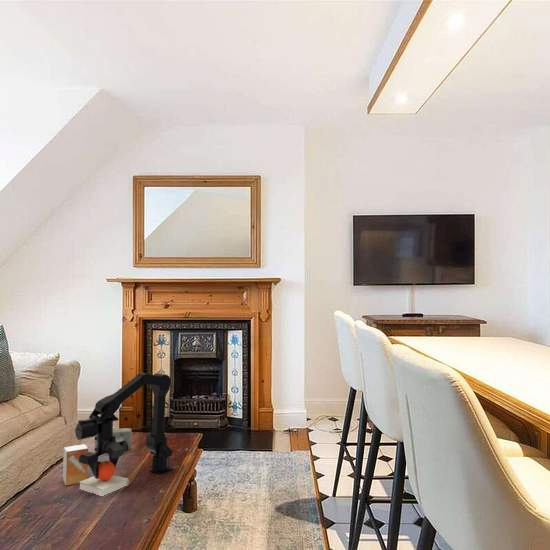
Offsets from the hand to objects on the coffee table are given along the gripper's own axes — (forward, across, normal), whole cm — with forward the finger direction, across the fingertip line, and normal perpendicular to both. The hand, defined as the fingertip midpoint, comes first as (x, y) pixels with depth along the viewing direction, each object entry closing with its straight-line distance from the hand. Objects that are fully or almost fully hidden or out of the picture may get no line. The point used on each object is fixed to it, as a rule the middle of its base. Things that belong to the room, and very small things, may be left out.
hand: (104, 475), depth 183 cm
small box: (+5, -2, +14) cm, 15 cm away
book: (+5, 0, 0) cm, 5 cm away
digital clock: (+5, +29, +30) cm, 42 cm away
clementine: (+2, 0, 0) cm, 2 cm away
